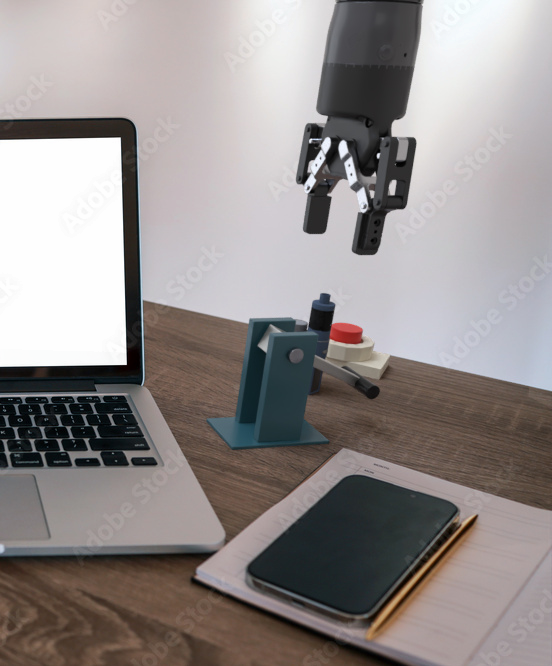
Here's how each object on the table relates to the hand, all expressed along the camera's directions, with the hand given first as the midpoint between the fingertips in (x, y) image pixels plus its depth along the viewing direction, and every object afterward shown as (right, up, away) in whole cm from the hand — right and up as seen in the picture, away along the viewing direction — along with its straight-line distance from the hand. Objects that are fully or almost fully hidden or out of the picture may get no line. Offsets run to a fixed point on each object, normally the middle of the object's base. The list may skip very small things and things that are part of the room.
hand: (337, 243), depth 73 cm
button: (+9, -9, +21) cm, 24 cm away
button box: (+8, -13, +22) cm, 27 cm away
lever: (-2, -12, +1) cm, 13 cm away
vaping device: (0, -15, +14) cm, 21 cm away
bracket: (-6, -19, +3) cm, 20 cm away
